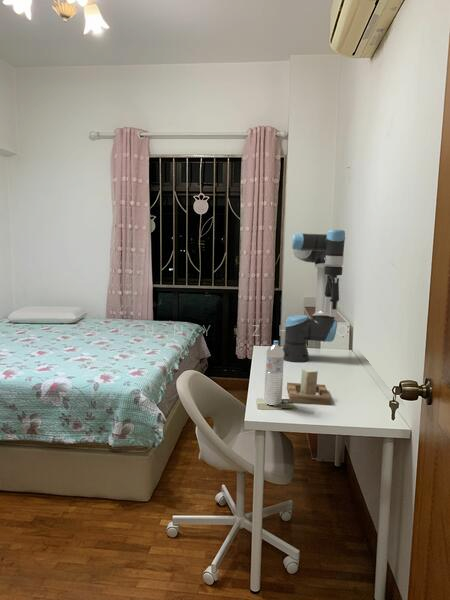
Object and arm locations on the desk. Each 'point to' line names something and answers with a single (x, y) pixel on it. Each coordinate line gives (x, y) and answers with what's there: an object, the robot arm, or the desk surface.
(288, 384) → the socket
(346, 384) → the desk surface
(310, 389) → the box
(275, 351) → the water bottle
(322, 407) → the desk surface
